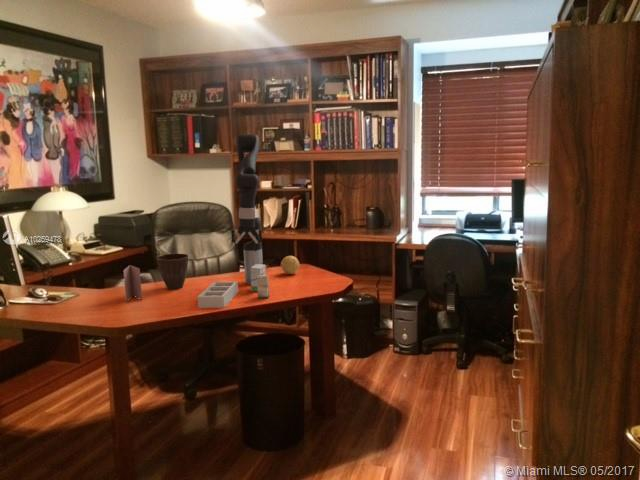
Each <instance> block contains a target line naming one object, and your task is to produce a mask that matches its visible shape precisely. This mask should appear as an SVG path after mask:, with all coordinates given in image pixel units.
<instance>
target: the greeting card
mask: <svg viewBox="0 0 640 480" xmlns="http://www.w3.org/2000/svg"><path fill="white" fill-rule="evenodd" d="M140 270H141V269H140V268H139V267H137V266H134V265H131V264H129V265H128V266H126V267H125V268H124V269H123V271H122V272H123V280H124V282H123V283H124V294H125V302H126V301H127V300H128V299H129V298H130V297H131V296H132V295H134V296H136V297H137V298H136V297H135V298H136V299H138V298H140V299H142V300H143V292H142V285H141V284H142V282H141V271H140ZM134 296H132V297H134ZM132 297H131V298H132ZM131 298H130V299H131ZM130 299H129V300H130ZM140 299H139V300H140ZM129 300H128V301H129ZM128 301H127V302H128Z"/></svg>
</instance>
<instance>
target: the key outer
mask: <svg viewBox="0 0 640 480" xmlns="http://www.w3.org/2000/svg"><path fill="white" fill-rule="evenodd" d="M222 295H223V294H207V295H205V296H222Z"/></svg>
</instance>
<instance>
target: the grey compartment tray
mask: <svg viewBox="0 0 640 480" xmlns="http://www.w3.org/2000/svg"><path fill="white" fill-rule="evenodd" d="M216 285H231V286H216ZM211 290H227V291H211ZM238 293H239V285H238V281H213V282H212V283H211V284H210V285H208V287H207V288H205V289H204V290H203V291H202V292H201V293H200V294H199V295H198V296H197V308H199V309H202V308H203V309H209V308H212V309H215V308H217V309H224V308H226V306H227V305H228V304H229V303H230V302H231V301H232V299H233V298H234V297H235V296H236V295H237V294H238ZM207 294H223V295H222V296H205V295H207Z"/></svg>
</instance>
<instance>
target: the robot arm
mask: <svg viewBox="0 0 640 480" xmlns="http://www.w3.org/2000/svg"><path fill="white" fill-rule="evenodd" d="M236 146H237V147H236V149H237V159H238V162H237V163H238V174H237V176H236V178H235V186H236V187H237V188H238V192H239V193H238V194H239V195H238V197H239V209H238V229H234V228H232V229H231V241H230V242H231V243H234V246H235V247H234V248H235V251H236V252H239V242H240V241H241V239H244V240H245V239H247V240H248V239H249V240H250V239H252V240H250V241H248V242H245V243H243V262H244V281H245V284H246V285H251V267H252V266H254V265H255V264H263V263H264V262H263V259H264V258H263V245H262V243H263V233H262V220H261V218H260V217H256V210H255V209H256V208H255V207H256V206H255V205H256V204H255V203H256V201H255V200H256V197H257V196H256V195H257V194H258V187H259V184H260V178H259V176H258V175H257V174H256V168H257V160H258V159H257V158H258V155H259V151H260V138H259V135H257V134H254V133H250V134H247V133H245V134H238V135H237V139H236ZM245 154H246V155H245ZM237 233H238V236H237V238H236V239H235V235H236V234H237Z"/></svg>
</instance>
